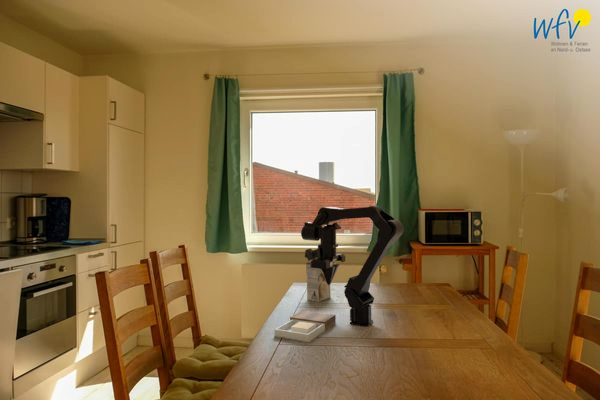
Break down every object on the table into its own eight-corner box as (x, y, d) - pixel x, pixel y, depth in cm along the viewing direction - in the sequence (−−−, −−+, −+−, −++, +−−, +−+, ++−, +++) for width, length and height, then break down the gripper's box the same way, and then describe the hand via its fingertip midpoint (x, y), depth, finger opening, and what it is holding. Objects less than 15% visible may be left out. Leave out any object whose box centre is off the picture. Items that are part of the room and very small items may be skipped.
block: (315, 329, 138) (315, 323, 138) (307, 335, 132) (307, 329, 132) (299, 327, 140) (299, 321, 140) (291, 332, 135) (291, 326, 135)
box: (324, 331, 138) (324, 323, 138) (308, 342, 127) (308, 334, 127) (292, 326, 143) (292, 319, 143) (274, 336, 133) (274, 329, 132)
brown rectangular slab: (335, 323, 146) (335, 314, 146) (324, 331, 138) (324, 321, 138) (302, 318, 152) (302, 310, 152) (290, 325, 144) (290, 317, 144)
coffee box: (318, 295, 186) (318, 259, 186) (330, 297, 182) (330, 260, 182) (306, 300, 179) (306, 262, 179) (318, 302, 175) (318, 263, 175)
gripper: (319, 238, 165) (319, 277, 165) (296, 243, 148) (297, 287, 149) (345, 239, 160) (346, 280, 160) (325, 244, 143) (326, 290, 143)
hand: (328, 284), depth 153 cm, fingers closed
